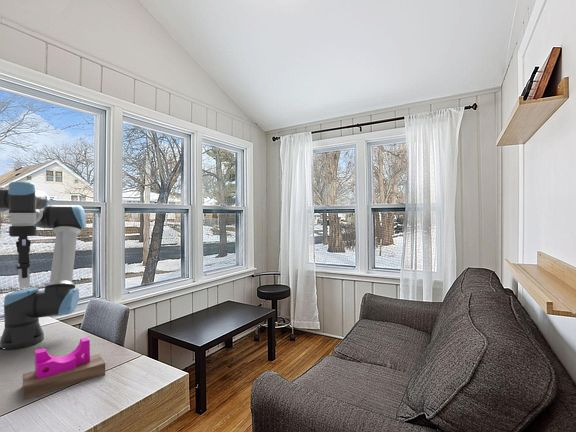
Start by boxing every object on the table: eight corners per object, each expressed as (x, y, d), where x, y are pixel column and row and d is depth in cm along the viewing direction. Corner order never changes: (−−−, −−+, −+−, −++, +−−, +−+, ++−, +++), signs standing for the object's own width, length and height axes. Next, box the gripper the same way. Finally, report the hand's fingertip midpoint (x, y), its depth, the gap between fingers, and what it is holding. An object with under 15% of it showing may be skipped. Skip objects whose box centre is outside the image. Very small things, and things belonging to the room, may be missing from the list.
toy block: (38, 379, 100) (37, 356, 100) (35, 372, 105) (34, 350, 105) (91, 363, 111) (91, 341, 111) (87, 357, 115) (86, 337, 115)
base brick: (22, 386, 104) (22, 374, 104) (99, 364, 118) (99, 353, 118) (24, 399, 96) (23, 386, 96) (105, 374, 111) (105, 363, 111)
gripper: (9, 224, 120) (10, 280, 120) (8, 226, 101) (10, 292, 101) (34, 224, 125) (35, 277, 125) (38, 225, 106) (39, 288, 106)
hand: (24, 284), depth 113 cm, fingers open, 13 cm apart
